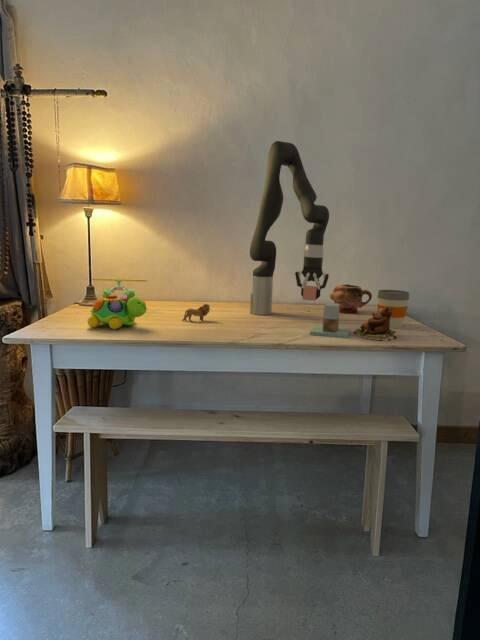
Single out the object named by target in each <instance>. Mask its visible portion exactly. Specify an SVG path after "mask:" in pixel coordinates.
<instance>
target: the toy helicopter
mask: <svg viewBox="0 0 480 640" xmlns="http://www.w3.org/2000/svg"><path fill="white" fill-rule="evenodd" d="M91 281H102V282H103V281H106V282H107V281H109V282H110V281H111V282H113V281H114V282H117V284H116V285H115V286H113V287H112V288H105V289H103V293H102V298H101V300H102V299H103V298H106V296H108V295H112V293H115V291H123V295H124V296H127V297H124V296H122V297H121V296H117V298H120V299H124V298H126V299H128V300H129V299H130V298H133V297H136V294H135V289H133V288H131V289H129V288H128V287H126V286H123V285H121V282H148V279H137V278H136V279H132V278H131V279H130V278H129V279H128V278H91Z"/></svg>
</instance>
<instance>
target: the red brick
mask: <svg viewBox="0 0 480 640" xmlns="http://www.w3.org/2000/svg"><path fill="white" fill-rule="evenodd" d="M316 293H317V286H316V285H307V284H306V286H305V287H304V289H303V297H302V300H305V301H317V299H316Z"/></svg>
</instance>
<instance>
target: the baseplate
mask: <svg viewBox="0 0 480 640" xmlns="http://www.w3.org/2000/svg"><path fill="white" fill-rule="evenodd" d="M350 333H351V328H343V327H338V330H337V332H325V331H323V326H320V325H314V326H313V327H312V329H311V330H310V331H309V335H311V336H319V337H320V336H321V337H331V338H332V337H333V338H341V339H342V338H344V339H348V337H349V335H350Z"/></svg>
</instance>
